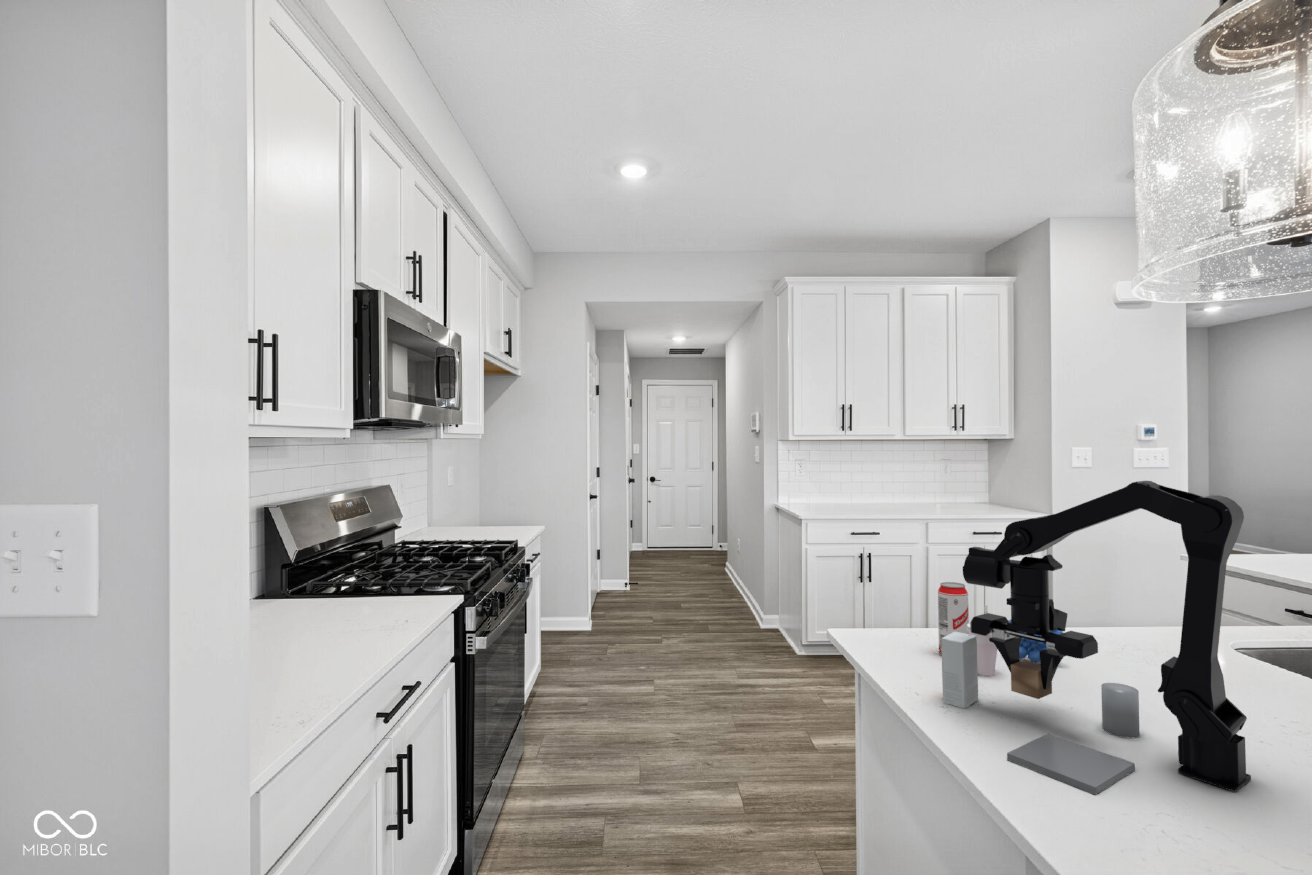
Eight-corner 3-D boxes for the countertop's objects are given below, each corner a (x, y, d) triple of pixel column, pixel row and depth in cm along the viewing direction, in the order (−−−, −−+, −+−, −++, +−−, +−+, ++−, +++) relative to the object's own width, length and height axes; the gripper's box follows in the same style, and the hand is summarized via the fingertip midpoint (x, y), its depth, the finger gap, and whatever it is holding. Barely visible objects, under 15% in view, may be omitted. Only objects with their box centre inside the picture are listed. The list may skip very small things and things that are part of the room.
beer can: (932, 653, 148) (931, 583, 148) (952, 650, 151) (951, 580, 151) (955, 662, 142) (954, 588, 142) (975, 657, 145) (974, 585, 145)
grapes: (1068, 662, 141) (1067, 606, 141) (1064, 670, 136) (1062, 612, 136) (1008, 652, 149) (1007, 599, 149) (1001, 659, 143) (1000, 605, 143)
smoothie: (1006, 679, 131) (1004, 609, 132) (971, 677, 133) (970, 608, 133) (996, 668, 138) (994, 602, 138) (963, 666, 139) (962, 601, 139)
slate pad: (1134, 769, 94) (1134, 762, 94) (1095, 794, 88) (1095, 787, 88) (1048, 739, 105) (1048, 733, 105) (1007, 759, 98) (1007, 752, 98)
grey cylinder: (1145, 732, 107) (1144, 689, 107) (1131, 740, 104) (1130, 696, 104) (1110, 722, 111) (1109, 680, 111) (1096, 729, 108) (1095, 686, 108)
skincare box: (955, 693, 124) (954, 630, 124) (979, 700, 121) (977, 635, 121) (941, 702, 120) (940, 637, 120) (965, 709, 117) (963, 642, 117)
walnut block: (1052, 693, 111) (1051, 666, 111) (1038, 698, 108) (1037, 671, 109) (1025, 685, 115) (1024, 659, 115) (1011, 690, 112) (1010, 664, 112)
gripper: (1112, 596, 108) (1114, 691, 108) (1001, 578, 124) (1003, 661, 124) (1079, 606, 102) (1082, 706, 102) (967, 586, 118) (969, 672, 118)
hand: (1031, 684), depth 112 cm, fingers closed on walnut block, 4 cm apart
